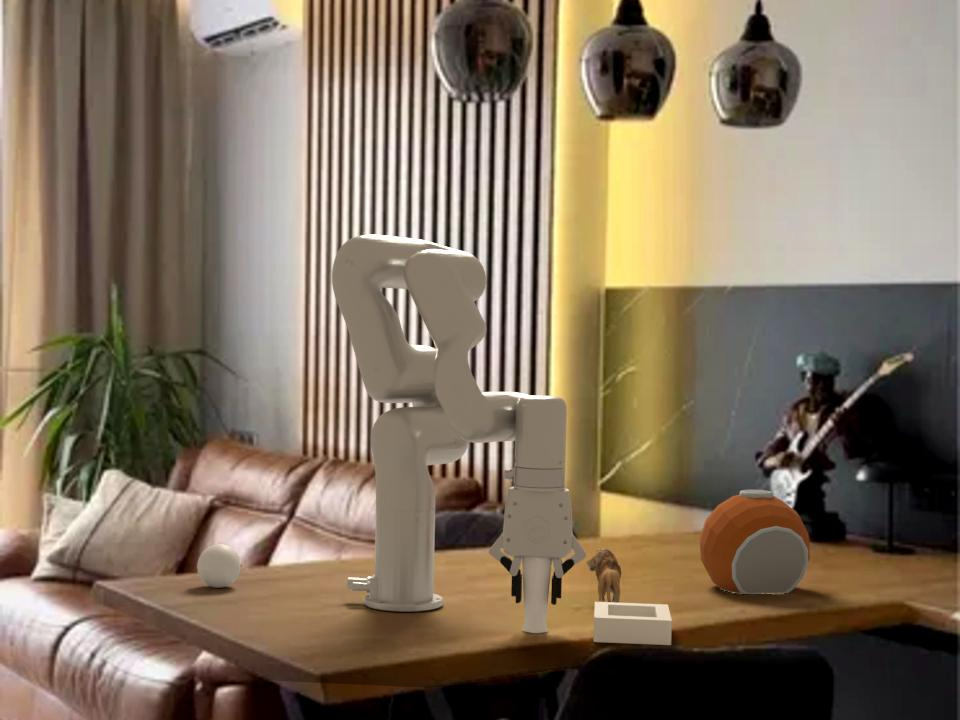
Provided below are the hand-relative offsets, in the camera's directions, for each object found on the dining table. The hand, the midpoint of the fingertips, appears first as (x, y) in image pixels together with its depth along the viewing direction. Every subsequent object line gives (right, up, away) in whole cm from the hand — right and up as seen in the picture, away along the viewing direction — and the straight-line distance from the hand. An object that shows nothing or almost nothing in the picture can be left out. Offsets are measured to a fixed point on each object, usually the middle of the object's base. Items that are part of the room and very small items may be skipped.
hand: (536, 601), depth 206 cm
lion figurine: (+12, -5, +18) cm, 22 cm away
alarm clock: (+40, -5, +39) cm, 56 cm away
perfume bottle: (0, -5, 0) cm, 5 cm away
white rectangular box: (+14, -5, -1) cm, 15 cm away
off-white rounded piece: (-53, -3, +30) cm, 60 cm away
